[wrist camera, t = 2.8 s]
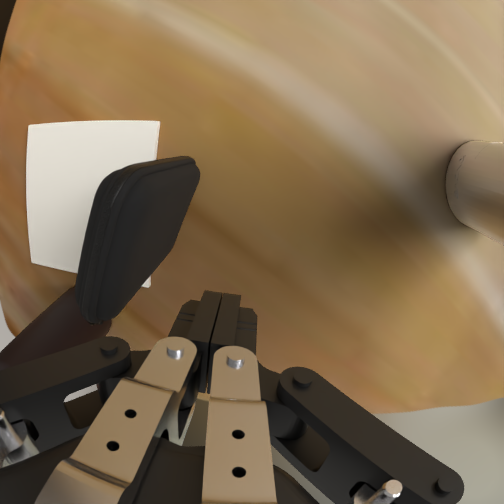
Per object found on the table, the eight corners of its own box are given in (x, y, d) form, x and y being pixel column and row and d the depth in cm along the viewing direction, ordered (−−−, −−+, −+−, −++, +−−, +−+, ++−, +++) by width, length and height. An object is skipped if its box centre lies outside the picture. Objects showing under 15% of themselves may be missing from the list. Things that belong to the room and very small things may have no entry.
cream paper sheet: (160, 121, 25) (158, 121, 24) (150, 285, 30) (148, 287, 30) (32, 125, 25) (28, 125, 24) (34, 260, 30) (31, 262, 30)
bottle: (58, 308, 32) (-41, 413, 13) (77, 273, 30) (-45, 383, 11) (99, 344, 33) (17, 466, 15) (122, 312, 31) (25, 450, 13)
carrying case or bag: (169, 265, 29) (101, 359, 15) (142, 253, 29) (59, 335, 15) (210, 162, 26) (148, 182, 12) (179, 149, 26) (91, 158, 12)
